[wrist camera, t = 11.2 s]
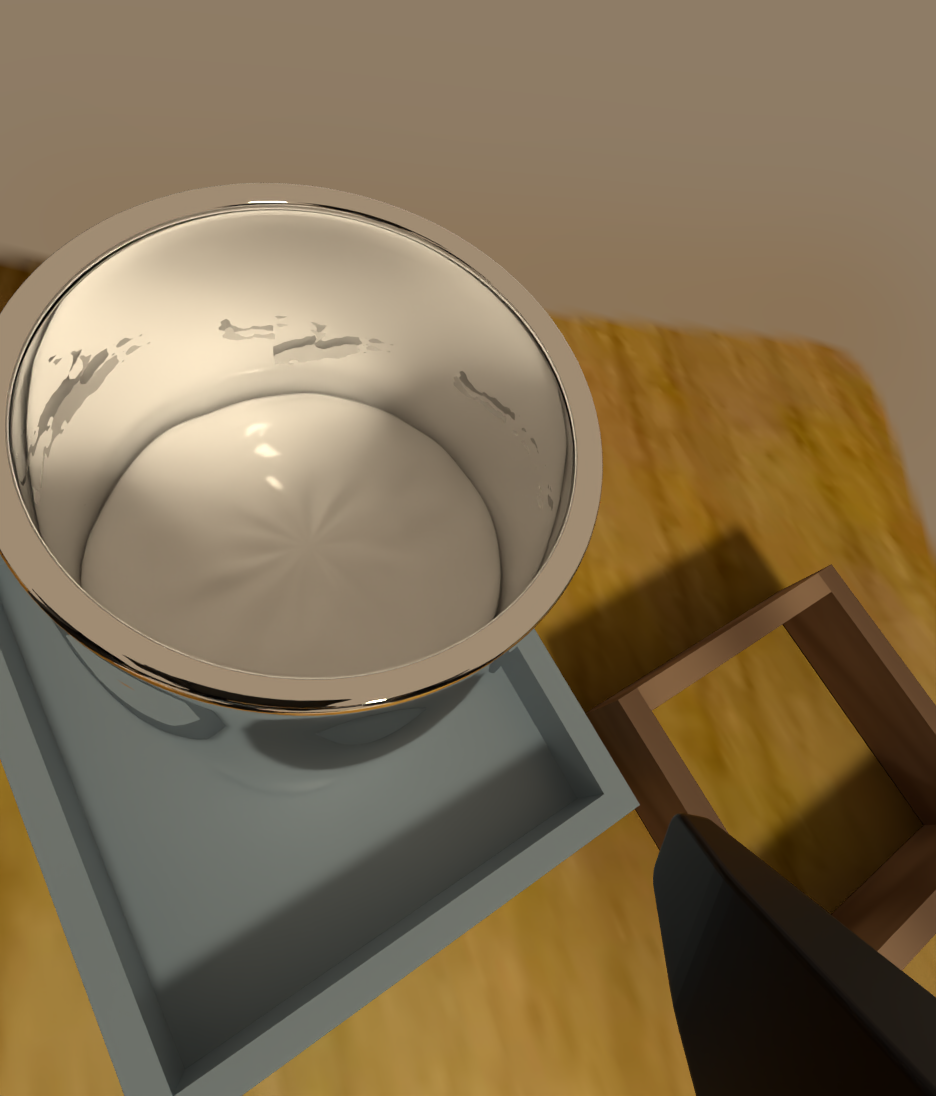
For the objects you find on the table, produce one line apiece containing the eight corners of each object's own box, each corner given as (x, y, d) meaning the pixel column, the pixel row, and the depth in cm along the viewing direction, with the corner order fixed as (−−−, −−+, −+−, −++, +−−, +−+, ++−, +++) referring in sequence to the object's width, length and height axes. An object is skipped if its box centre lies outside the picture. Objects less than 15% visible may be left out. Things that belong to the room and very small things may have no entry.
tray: (170, 1112, 17) (149, 1162, 14) (-38, 569, 21) (-85, 527, 18) (597, 809, 22) (640, 804, 20) (373, 425, 26) (383, 377, 23)
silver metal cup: (140, 628, 20) (-140, 207, 7) (357, 552, 23) (463, 140, 9) (220, 858, 18) (54, 898, 5) (446, 746, 21) (730, 577, 8)
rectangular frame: (762, 1021, 21) (831, 1046, 18) (580, 716, 23) (618, 699, 21) (950, 833, 25) (1028, 832, 23) (778, 591, 28) (831, 564, 25)
